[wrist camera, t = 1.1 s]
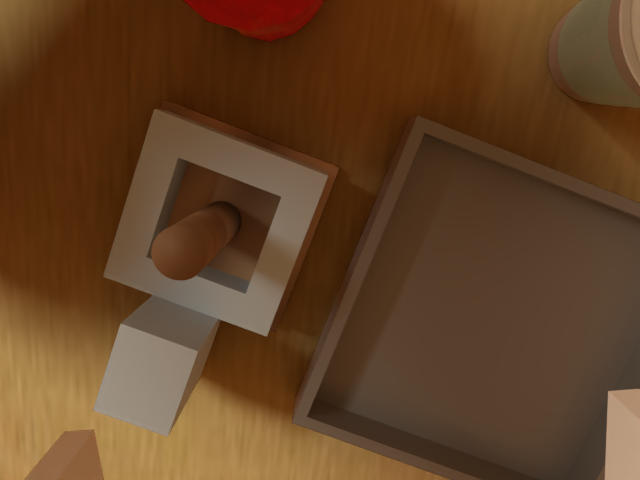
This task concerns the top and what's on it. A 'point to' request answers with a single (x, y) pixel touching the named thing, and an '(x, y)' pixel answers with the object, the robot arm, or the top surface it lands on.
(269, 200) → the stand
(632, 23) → the coffee cup
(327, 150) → the top surface
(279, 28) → the apple
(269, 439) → the top surface
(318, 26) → the top surface
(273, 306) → the ring
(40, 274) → the top surface
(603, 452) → the tray
